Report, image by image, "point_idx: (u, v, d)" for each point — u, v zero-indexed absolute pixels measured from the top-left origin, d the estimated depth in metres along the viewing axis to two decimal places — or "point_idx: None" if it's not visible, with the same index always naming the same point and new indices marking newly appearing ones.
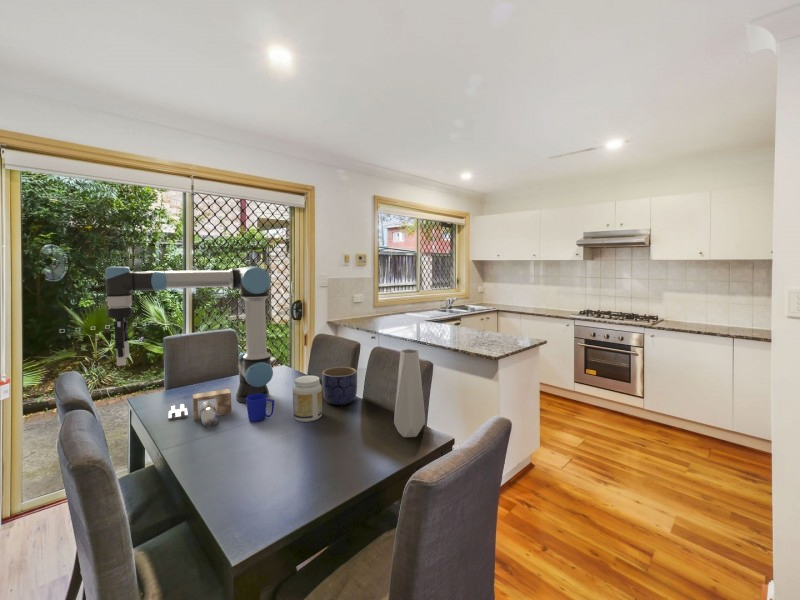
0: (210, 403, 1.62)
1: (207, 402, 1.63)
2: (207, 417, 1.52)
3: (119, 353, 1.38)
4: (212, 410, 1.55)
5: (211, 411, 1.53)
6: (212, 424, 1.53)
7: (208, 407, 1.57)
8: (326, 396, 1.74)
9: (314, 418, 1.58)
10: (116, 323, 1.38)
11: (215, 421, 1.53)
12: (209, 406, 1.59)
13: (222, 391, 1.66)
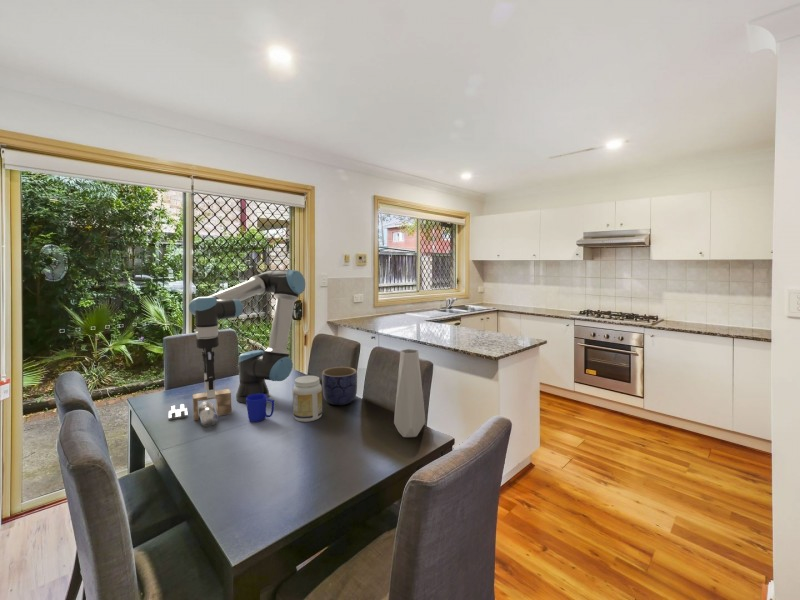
0: (208, 403, 1.62)
1: (205, 402, 1.63)
2: (206, 417, 1.51)
3: (210, 386, 1.39)
4: (210, 410, 1.54)
5: (209, 411, 1.53)
6: (212, 424, 1.53)
7: (206, 407, 1.57)
8: (326, 396, 1.74)
9: (314, 418, 1.58)
10: (207, 356, 1.38)
11: (214, 421, 1.53)
12: (207, 406, 1.58)
13: (222, 391, 1.66)
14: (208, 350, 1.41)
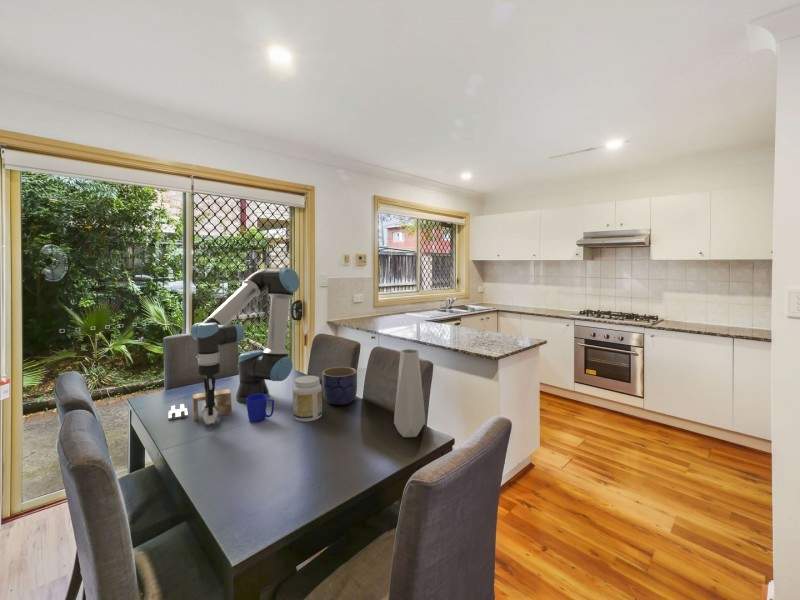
0: None
1: None
2: None
3: (209, 412, 1.44)
4: (216, 410, 1.55)
5: (215, 411, 1.54)
6: (212, 424, 1.53)
7: None
8: (326, 396, 1.74)
9: (314, 418, 1.58)
10: (208, 387, 1.40)
11: (216, 422, 1.53)
12: None
13: (222, 391, 1.66)
14: (209, 377, 1.42)
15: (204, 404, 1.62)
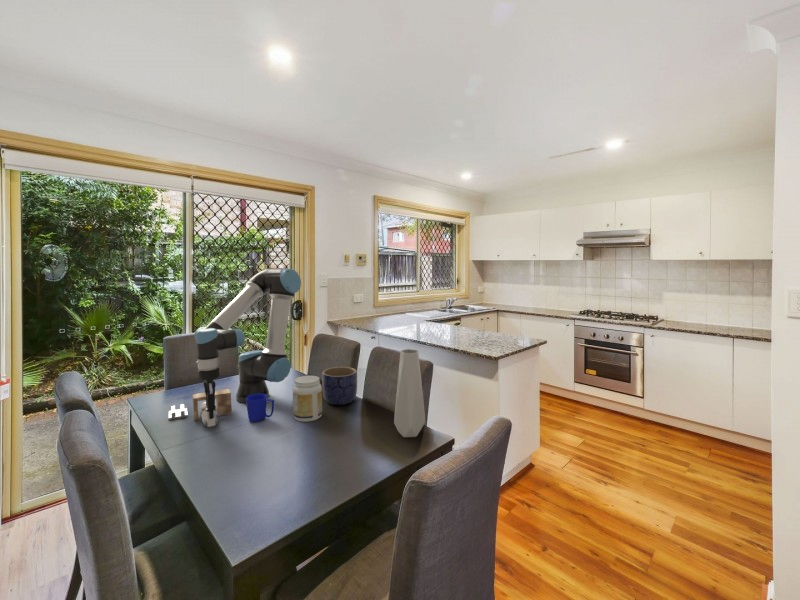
0: None
1: None
2: None
3: (210, 415, 1.48)
4: None
5: None
6: None
7: None
8: (326, 396, 1.74)
9: (314, 418, 1.58)
10: (209, 392, 1.43)
11: (215, 422, 1.53)
12: None
13: (222, 391, 1.66)
14: (209, 381, 1.45)
15: (201, 405, 1.62)
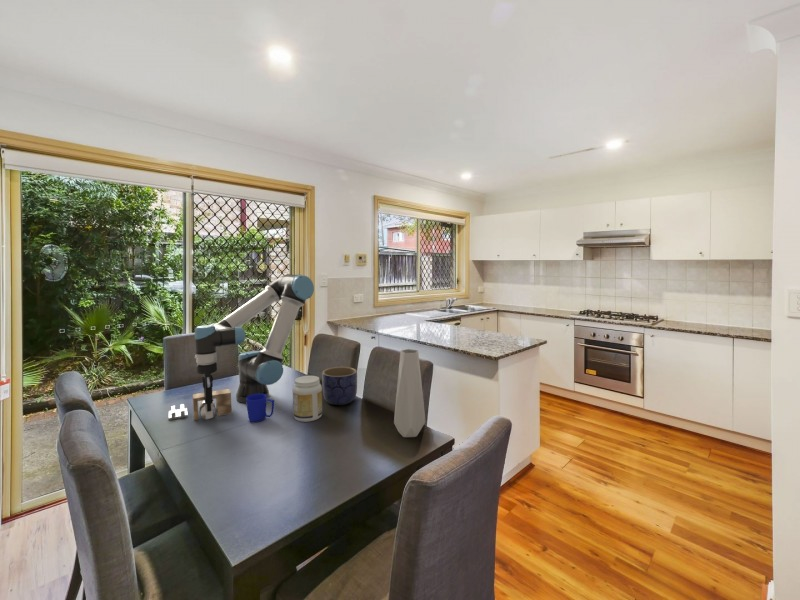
0: None
1: None
2: None
3: (208, 408, 1.55)
4: None
5: None
6: None
7: None
8: (326, 396, 1.74)
9: (314, 418, 1.58)
10: (206, 385, 1.51)
11: (213, 414, 1.60)
12: None
13: (222, 391, 1.66)
14: (207, 375, 1.53)
15: None
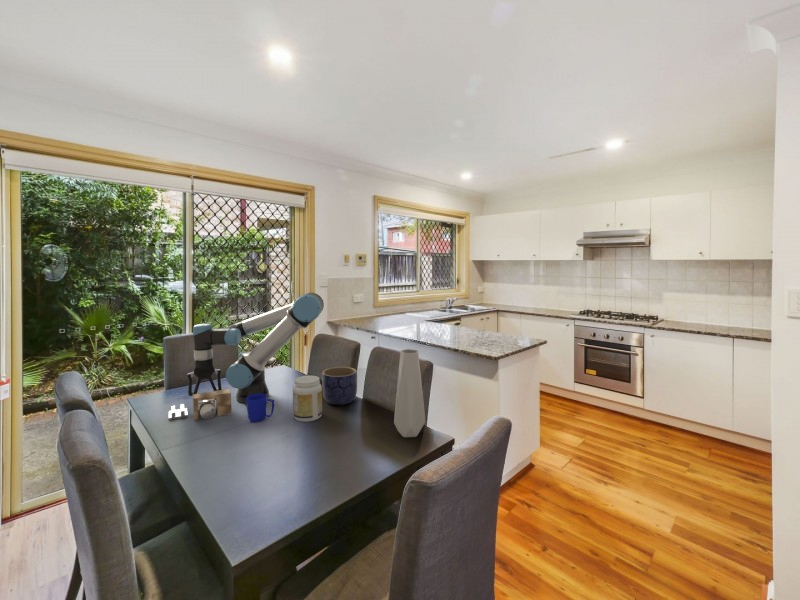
0: None
1: None
2: (206, 409, 1.59)
3: None
4: (210, 403, 1.62)
5: (209, 404, 1.60)
6: (210, 416, 1.60)
7: (206, 400, 1.64)
8: (326, 396, 1.74)
9: (314, 418, 1.58)
10: (187, 375, 1.66)
11: (213, 414, 1.60)
12: None
13: (222, 391, 1.66)
14: (194, 369, 1.67)
15: None
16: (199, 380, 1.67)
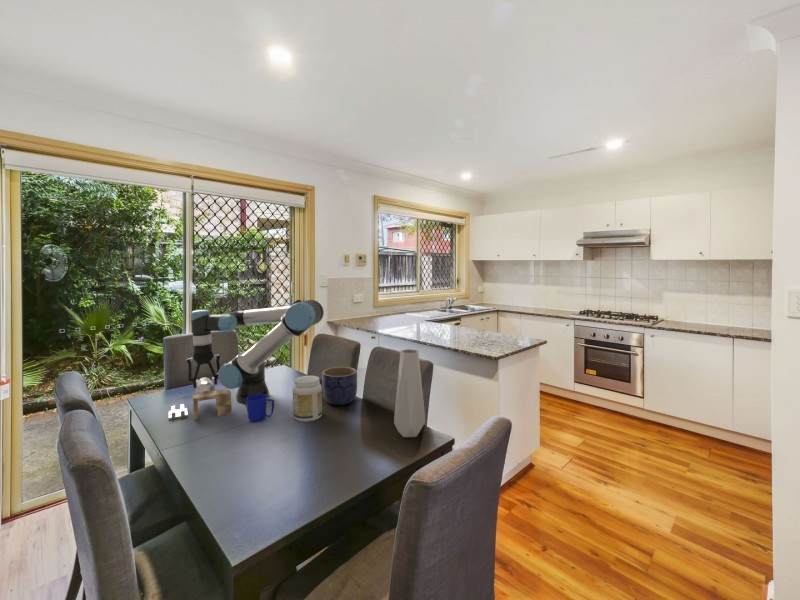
0: (207, 379, 1.77)
1: (204, 378, 1.78)
2: (204, 389, 1.66)
3: (193, 384, 1.71)
4: (209, 384, 1.70)
5: (208, 384, 1.68)
6: None
7: (205, 382, 1.72)
8: (326, 396, 1.74)
9: (314, 418, 1.58)
10: None
11: None
12: (206, 381, 1.73)
13: (222, 391, 1.66)
14: (194, 354, 1.70)
15: (199, 381, 1.76)
16: (198, 365, 1.70)
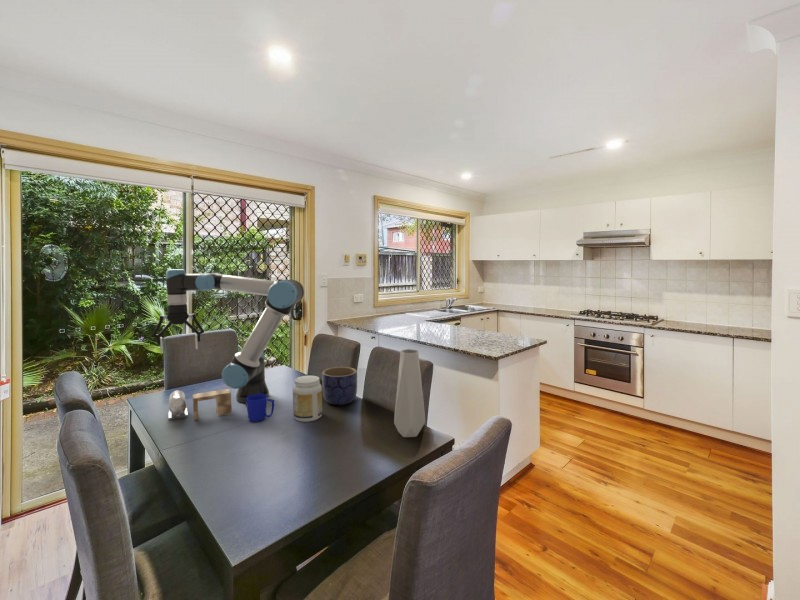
0: (180, 392, 1.67)
1: (177, 391, 1.68)
2: (175, 404, 1.56)
3: (157, 341, 1.65)
4: (180, 399, 1.59)
5: (179, 399, 1.58)
6: (179, 412, 1.57)
7: (177, 396, 1.62)
8: (326, 396, 1.74)
9: (314, 418, 1.58)
10: (160, 316, 1.65)
11: (182, 410, 1.58)
12: (178, 395, 1.63)
13: (222, 391, 1.66)
14: (168, 314, 1.66)
15: (171, 394, 1.66)
16: (169, 324, 1.65)
